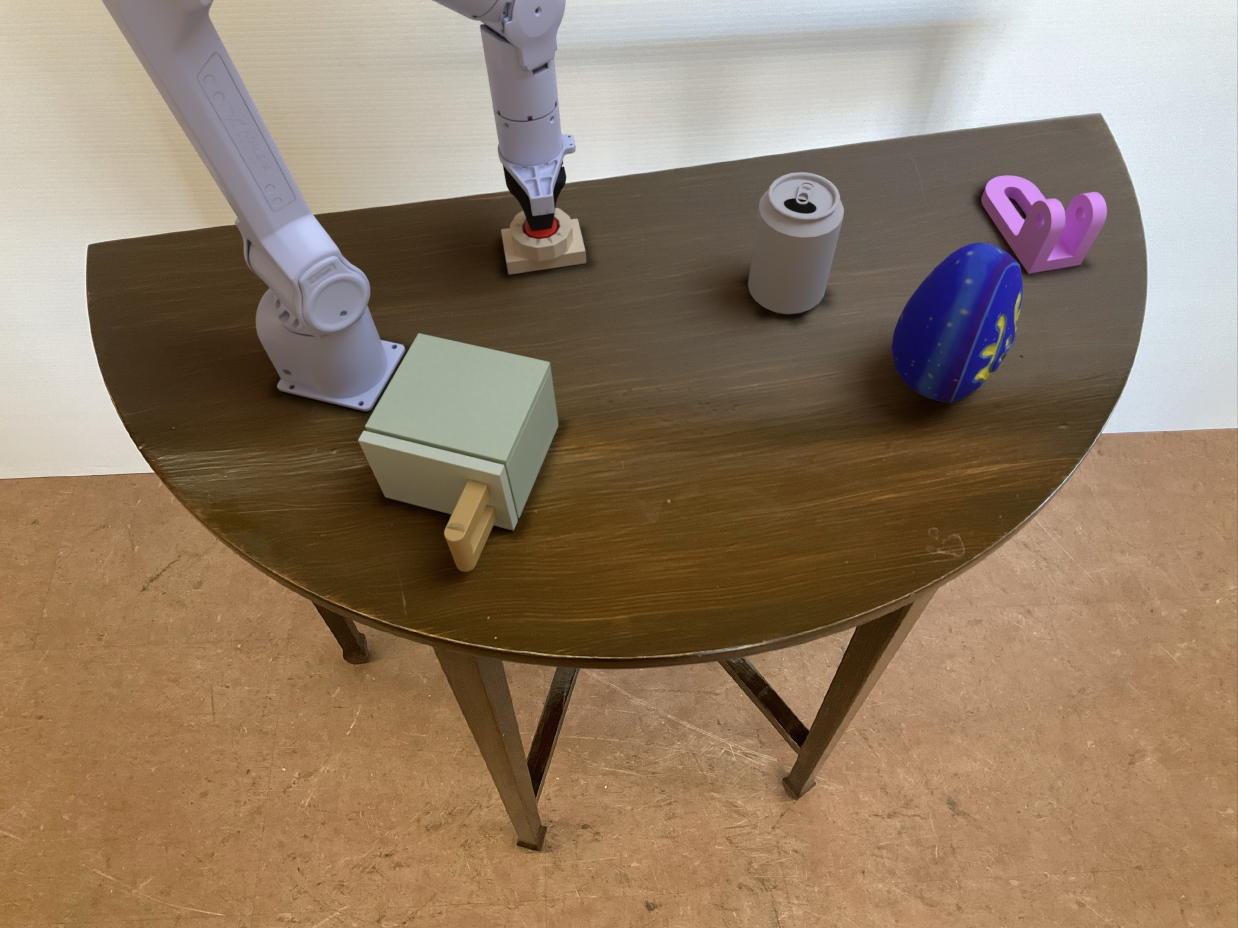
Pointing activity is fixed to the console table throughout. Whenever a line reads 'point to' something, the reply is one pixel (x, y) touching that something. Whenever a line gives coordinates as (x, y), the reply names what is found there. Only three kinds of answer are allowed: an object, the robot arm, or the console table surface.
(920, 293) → the ornament
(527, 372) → the cupboard
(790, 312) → the can
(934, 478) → the console table surface
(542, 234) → the button
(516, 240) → the button box
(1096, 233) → the bracket
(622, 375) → the console table surface
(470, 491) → the door
